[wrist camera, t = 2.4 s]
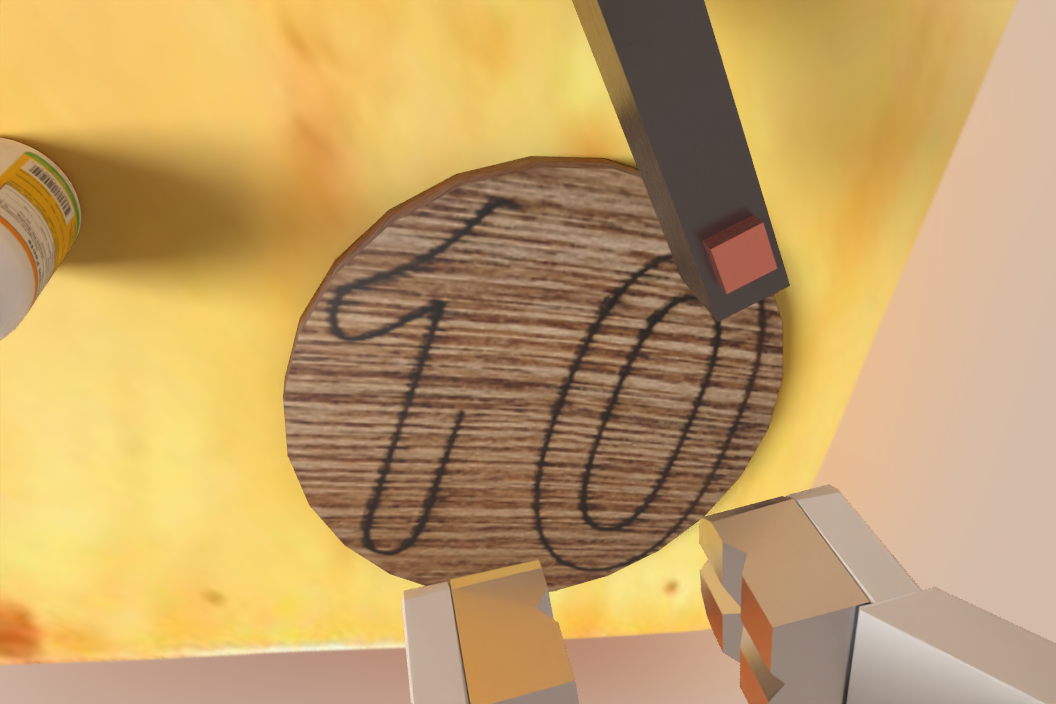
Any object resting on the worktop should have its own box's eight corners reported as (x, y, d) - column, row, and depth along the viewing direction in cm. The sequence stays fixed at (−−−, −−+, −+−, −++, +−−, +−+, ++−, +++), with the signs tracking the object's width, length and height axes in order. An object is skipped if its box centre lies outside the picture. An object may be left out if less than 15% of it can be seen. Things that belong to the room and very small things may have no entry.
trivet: (267, 570, 44) (265, 597, 42) (308, 107, 32) (307, 120, 31) (684, 573, 51) (696, 596, 49) (840, 194, 39) (862, 208, 38)
